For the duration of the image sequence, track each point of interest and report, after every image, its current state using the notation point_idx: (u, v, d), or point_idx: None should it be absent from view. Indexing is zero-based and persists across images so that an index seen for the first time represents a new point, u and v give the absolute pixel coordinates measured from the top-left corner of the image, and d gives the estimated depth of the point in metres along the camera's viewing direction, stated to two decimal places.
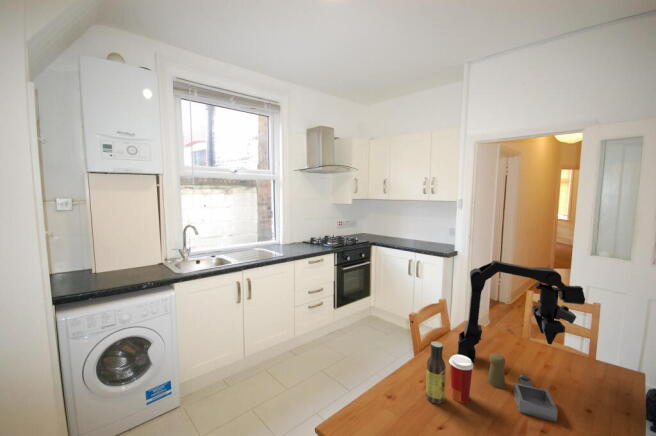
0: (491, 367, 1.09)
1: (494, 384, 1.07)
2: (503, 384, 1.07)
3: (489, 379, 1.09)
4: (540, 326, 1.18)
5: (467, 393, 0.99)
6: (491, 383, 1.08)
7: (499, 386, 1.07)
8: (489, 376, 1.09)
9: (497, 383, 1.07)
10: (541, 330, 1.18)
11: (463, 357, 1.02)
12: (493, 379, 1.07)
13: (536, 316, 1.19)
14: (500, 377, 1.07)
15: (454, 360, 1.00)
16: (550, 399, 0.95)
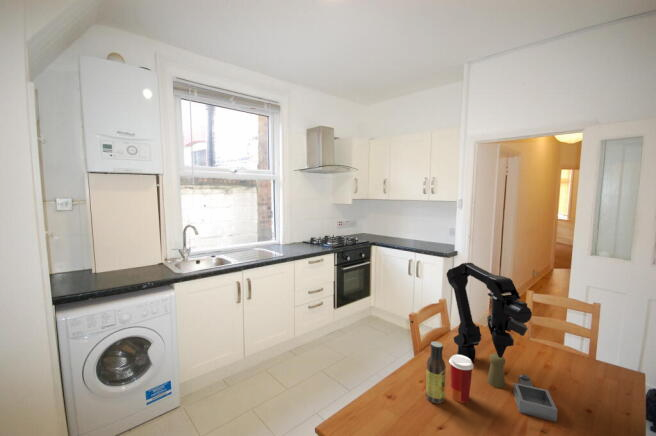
0: (491, 367, 1.09)
1: (494, 384, 1.07)
2: (503, 384, 1.07)
3: (489, 379, 1.09)
4: None
5: (467, 393, 0.99)
6: (491, 383, 1.08)
7: (499, 386, 1.07)
8: (489, 376, 1.09)
9: (497, 383, 1.07)
10: None
11: (463, 357, 1.02)
12: (493, 379, 1.07)
13: (490, 327, 1.13)
14: (500, 377, 1.07)
15: (454, 360, 1.00)
16: (550, 399, 0.95)
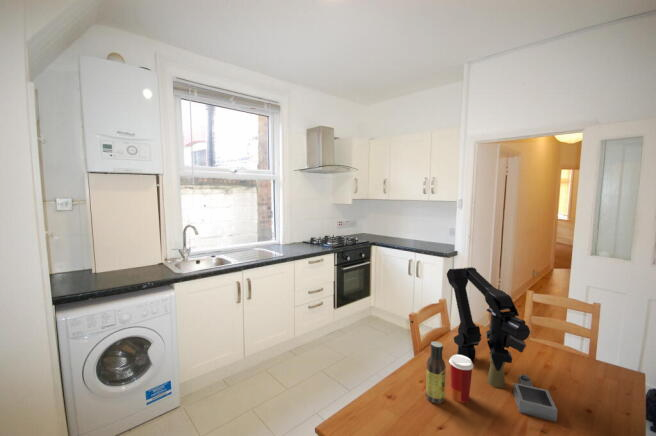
0: (491, 367, 1.09)
1: (494, 384, 1.07)
2: (503, 384, 1.07)
3: (489, 379, 1.09)
4: None
5: (467, 393, 0.99)
6: (491, 383, 1.08)
7: (499, 386, 1.07)
8: (489, 376, 1.09)
9: (497, 383, 1.07)
10: None
11: (463, 357, 1.02)
12: (493, 379, 1.07)
13: (489, 344, 1.12)
14: (500, 377, 1.07)
15: (454, 360, 1.00)
16: (550, 399, 0.95)
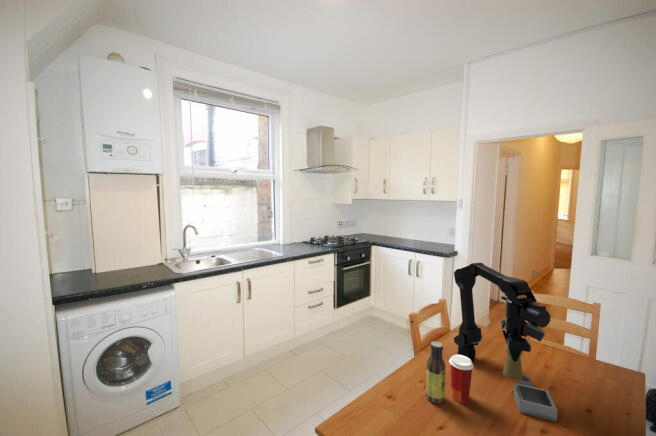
0: (507, 358, 1.03)
1: (511, 376, 1.01)
2: (521, 376, 1.01)
3: (505, 371, 1.03)
4: None
5: (467, 393, 0.99)
6: (508, 375, 1.02)
7: (516, 378, 1.00)
8: (505, 367, 1.03)
9: (514, 375, 1.01)
10: None
11: (463, 357, 1.02)
12: (510, 370, 1.01)
13: (505, 334, 1.06)
14: (518, 368, 1.01)
15: (454, 360, 1.00)
16: (550, 399, 0.95)
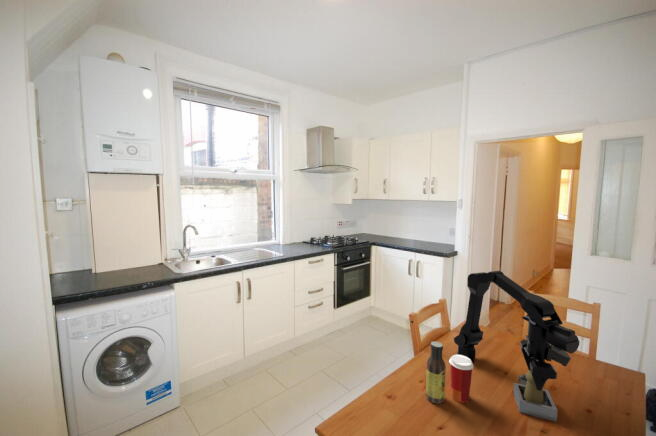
0: (528, 386, 0.97)
1: None
2: None
3: (526, 399, 0.97)
4: (529, 365, 1.01)
5: (467, 393, 0.99)
6: None
7: None
8: (526, 396, 0.97)
9: None
10: (530, 370, 1.01)
11: (463, 357, 1.02)
12: (531, 399, 0.95)
13: (524, 353, 1.02)
14: (540, 397, 0.94)
15: (454, 360, 1.00)
16: (550, 399, 0.95)
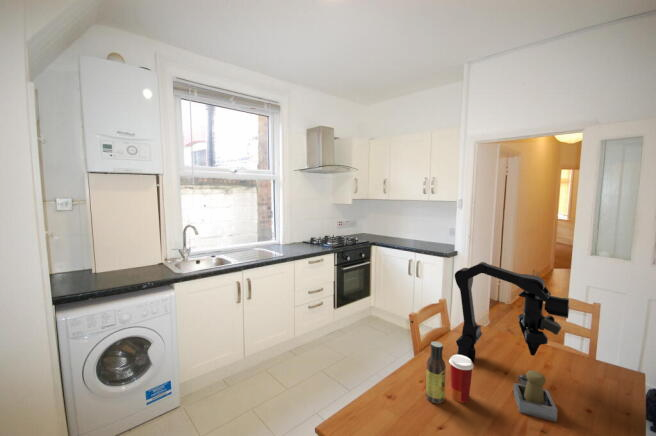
0: (528, 386, 0.97)
1: None
2: None
3: (526, 399, 0.97)
4: None
5: (467, 393, 0.99)
6: None
7: None
8: (526, 396, 0.97)
9: None
10: None
11: (463, 357, 1.02)
12: (531, 399, 0.95)
13: (521, 325, 1.14)
14: (540, 397, 0.94)
15: (454, 360, 1.00)
16: (550, 399, 0.95)
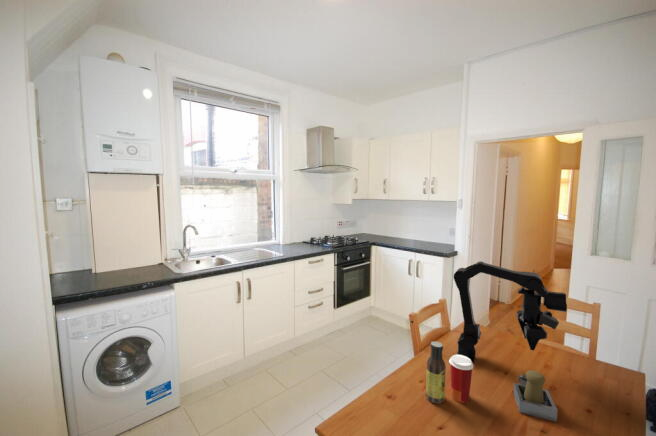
0: (528, 386, 0.97)
1: None
2: None
3: (526, 399, 0.97)
4: (524, 331, 1.17)
5: (467, 393, 0.99)
6: None
7: None
8: (526, 396, 0.97)
9: None
10: (525, 335, 1.17)
11: (463, 357, 1.02)
12: (531, 399, 0.95)
13: (520, 321, 1.18)
14: (540, 397, 0.94)
15: (454, 360, 1.00)
16: (550, 399, 0.95)
